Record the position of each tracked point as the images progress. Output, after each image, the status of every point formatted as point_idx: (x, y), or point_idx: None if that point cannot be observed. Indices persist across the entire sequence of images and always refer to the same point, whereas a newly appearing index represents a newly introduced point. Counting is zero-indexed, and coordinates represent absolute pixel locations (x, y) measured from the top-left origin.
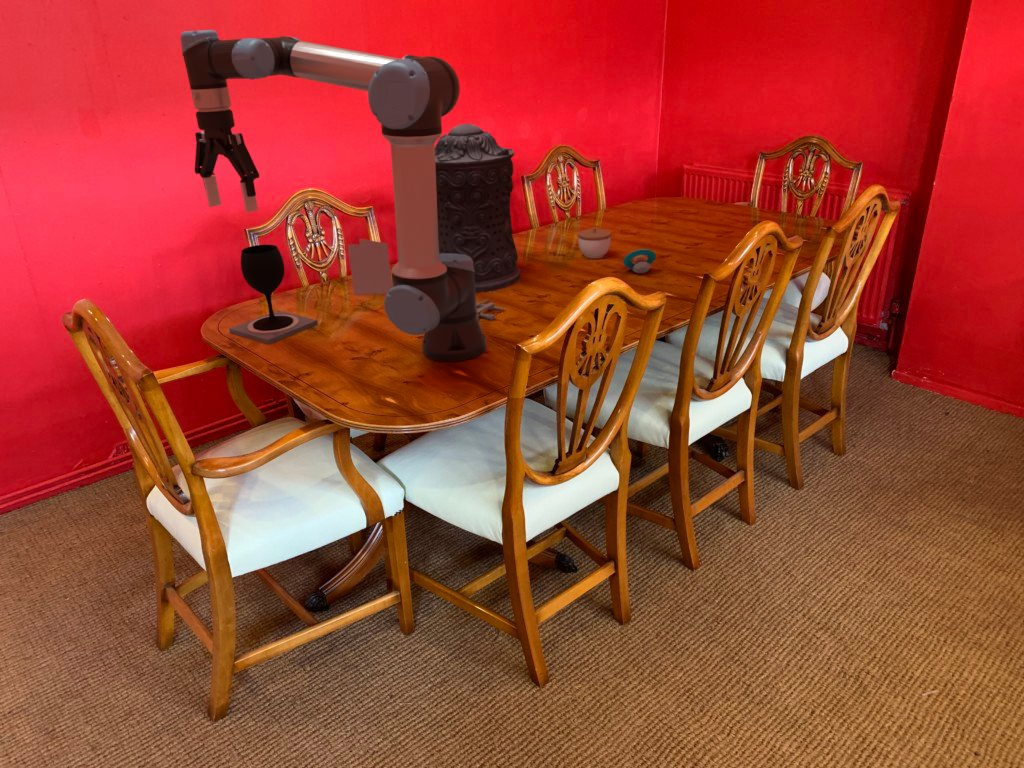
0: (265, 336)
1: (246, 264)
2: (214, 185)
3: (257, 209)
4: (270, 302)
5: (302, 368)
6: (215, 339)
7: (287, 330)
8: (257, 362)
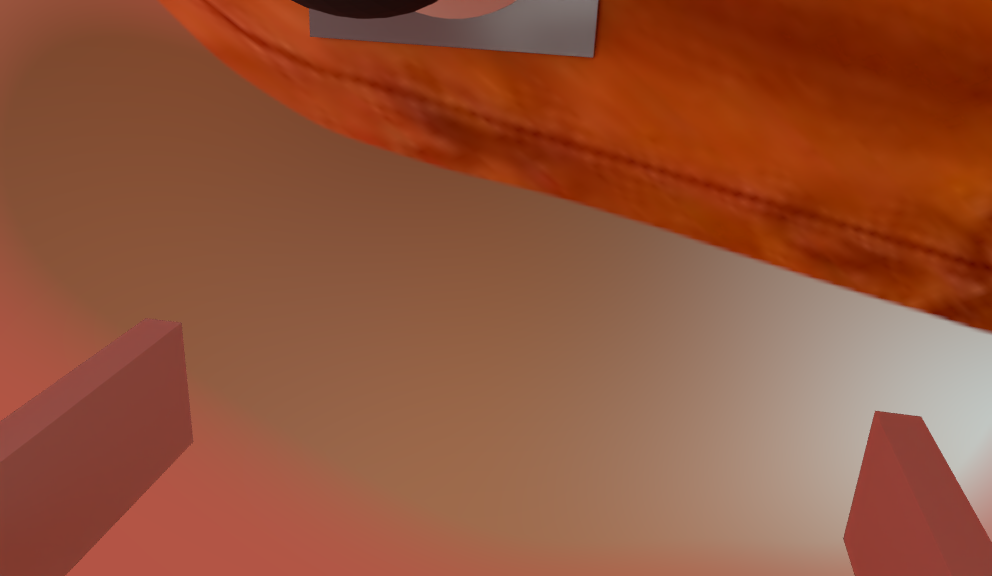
0: (547, 30)
1: (363, 16)
2: (28, 487)
3: (922, 427)
4: None
5: (940, 186)
6: (331, 119)
7: None
8: (701, 219)
